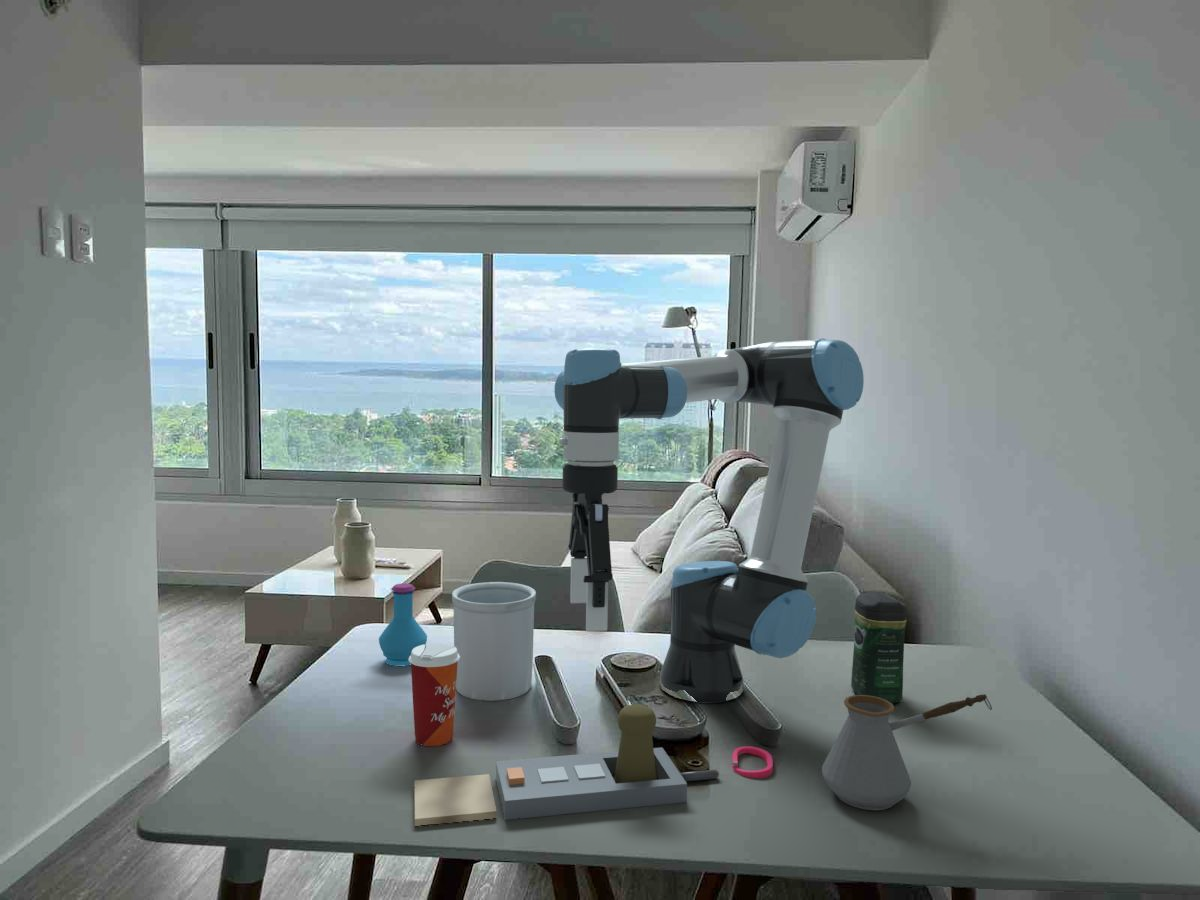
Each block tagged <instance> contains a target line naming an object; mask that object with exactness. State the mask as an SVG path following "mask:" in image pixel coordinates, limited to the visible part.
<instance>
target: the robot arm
mask: <svg viewBox="0 0 1200 900" xmlns="http://www.w3.org/2000/svg"><path fill="white" fill-rule="evenodd" d="M564 360H565V361H564V368H563V370H562V371H561V372H560V373H559V374H558V376H557V377H556V380H555V384H554V391H553V392H554V397H555V400H556V402H557V404H558V405H559V407H560V408H561V409H562V410H563V436H564V437H561V438H559V440H558V441H559V442H558V444H559V445H560V446H563V451H562V452H563V455H562V458H563V459H564V460H565V461H566V462H567V463H564V465H562V484H561V485H562V486H561V487H562V489H563V490H564V491H565V492H566V493H570V494H572V512H571V522H570V532H569V542H568V545H567V546H568V550H569V551H570V552H569V553H570V554H569V555H570V557H571V558H570V597H569V598H570V601H569V602H570V604H585V606H586V607H585V631H586V632H604V631H606V632H607V631H608V616H609V615H608V613H609V611H608V610H609V604H608V603H609V581H612V580H613V575H614V574H613V573H612V572H613V571H612V557H611V556H612V555H611V543H610V542H611V541H610V531H609V511H610V507H609V505H608V504H606V503H605V504H604V503H603V498H602V497H603V496H604V494H612V493H614V492H616V491H617V490H618V478H619V477H618V475H619V474H618V472H619V471H618V469H619V467H618V466H617V464H615V462H617V461H618V460H619V447H620V446H619V442H620V430H619V429H620V427H619V424H620V420H621V419H657V420H661V419H664V418H665V419H666V418H673V417H675V416H677V415H678V414H680V413H681V412H682V410H683V409H684V407H685V406H686V404H687V403H695V402H704V401H705V402H706V401H712V400H718V401H720V402H721V403H724V404H732V403H733V404H734V403H748V404H749V403H750V404H757V405H766V406H772V412H773V414H774V415H775V416H776V418H777V420H778V427H777V431H776V435H775V439H774V443H773V444H774V445H773V449H772V453H771V458H770V462H769V463H770V464H769V468H768V472H767V476H766V482H765V486H764V492H763V496H762V501H761V506H760V508H759V515H758V518H757V523H756V528H755V532H754V533H755V534H754V537H753V540H752V541H753V542H752V546H751V552H750V556H749V557H748V558H747V559H745V560H744V561H742V562H741V563H739V565H738V564H736V563H735V562H732V561H725V560H708V561H707V560H706V561H705V560H703V561H693V562H687V563H682V564H680V565H677V566H676V567H675V568H674V570H673V572H672V579H671V581H672V582H671V585H670V640H669V641H670V642H669V643H670V644H669V647H668V650H667V652H666V656H665V658H664V661H663V663H662V667H661V670H660V672H659V682H660V681H661V683H662V684H663V686H664V687H665V688H667V689H669V690H672V691H675V692H677V691H679V690H685V691H686V692H687V693H688V694H689V695H690V696H692V697H693V698H694V699H695V700H696V701H697V702H698V703H699V704H718V703H719V704H720V703H725V702H726V703H727V701H726V697H727V695H728V694H729V693H730V692H734V691H738V690H739V689H740V687H741V685H742V684H743V685H744V676H743V672H742V669H741V666H740V662H739V659H738V655H737V652H736V646H737V647H741V648H744V649H746V650H751V651H752V652H753V651H754V652H755V653H756V654H758V655H763V656H769V657H773V658H777V659H783V658H785V659H786V658H788V657H790V656H793V655H794V654H796V653H797V652H798V651H799V650H800V649H801V648H803V647H804V646H805V644H806V643H808V641H809V639H810V637H811V635H812V632H813V631H814V627H815V624H816V620H817V608H816V607H815V605H816V603H815V599H814V598H813V596H812V595H811V594H810V593H809V592H807V587H808V584H809V583H808V582H809V579H808V578H807V577H806V575H805V574H804V572H803V571H802V565H803V560H804V555H805V550H806V546H807V540H808V537H809V532H810V527H811V522H812V517H813V513H814V508H815V502H816V499H817V495H818V494H817V492H818V489H819V484H820V480H821V474H822V470H823V465H824V459H825V455H826V451H827V450H826V449H827V445H828V440H829V437H830V436H829V435H830V432H831V431H832V430H833V429H834V428H836V427H837V426H839V425H841V423H842V419H843V413H844V411H847V410H850V409H852V408H854V407H855V406H856V405H857V403H859V401H860V400H861V398H862V395H863V391H864V377H865V376H864V371H863V366H862V363H861V361H860V357H859V355H858V353H857V352H856V350H855V349H854V348H853V346H851V345H850V344H849V343H848V342H846V341H844V340H841V339H827V338H818V339H808V340H807V339H805V340H803V339H802V340H800V339H799V340H782V341H781V340H776V341H774V340H773V341H767V342H762V343H761V342H760V343H757V344H753V345H747V346H742V347H737V348H730V349H729V348H728V349H722V350H719V351H718V352H716V353H714V354H713V355H712V356H700V357H688V358H677V359H664V360H663V359H662V360H650V361H648V360H647V361H637V362H625V363H621V356H620V353H619V351H618V350H616V349H609V348H573V349H570V350H569V351H568V352H567V353H566V354H565V359H564ZM697 702H696V703H697Z"/></svg>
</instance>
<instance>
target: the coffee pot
mask: <svg viewBox="0 0 1200 900" xmlns="http://www.w3.org/2000/svg"><path fill="white" fill-rule="evenodd" d="M983 701H984V703H985V705H986V707H987V708H988V709H989V710H990V711H992V710H993V706H992V704H991V703H990V701H989V699H988V696H987V694H979V695H978V694H977V695H976V696H974V697H969V696H967V697H966V698H965V699H963V700H957V701H952V702H951V701H950V702H948V703H945V704H943V705H940V706H937V707H935V708H932V709H930V710H927V711H924V712H921V713H919V714H917V715H914V716H911V717H909V716H908V717H906V718H903V719H899V720H896V721H893V722H890V721H889V720H890V717H891V714H893V713H894V711H895V706H894V703H890V702H889V701H887V700H885V699H882V698H879V697H874V696H868V695H857V694H856V695H850V696H847V697H845V699H844V701H843V703H844V706H845V708H847V714H848V717H847V718H846V720H845V722H844V724H843V725H842V728H841V729H840V731H839V733H838V734H837V738H836V739H835V741H834V743H833V745H832V746H831V749H830V750H829V753H828V755H827V756H826V758H825V760H824V762H823V764H822V766H821V773H822V774H821V775H822V777H823V779H824V782H825V783H826V785H827V787H828V788H829V789H830V790H831V791H832V792H833V793H834V794H835V795H836V797H837V798H838V799H839V800H840V801H842V802H844V803H845V804H847V805H849V806H851V807H854V808H857V809H862V810H867V811H868V810H869V811H883V810H887V809H889V808H892V807H893V806H894V805H895V804H898V803H899V802H901V800H903V799H904V798H906V796H907V795H908V793H909V792H910V789H911V785H912V781H911V778H910V775H909V774H910V773H909V772H908V770H907V769H908V768H906V764H905V762H904V759H903V757H902V754H901V752H900V749H899V748H900V747H899V746H898V743H897V740H896V738H895V735H894V733H893V731H894V730H895V731H896V730H899V729H901V728H904V727H907V726H909V725H913V724H915V723H919V722H921V721H925V720H929V719H932V718H937V717H940V716H944V715H948V714H949V715H950V714H953V713H956V712H957V711H960V710H961V709H963V708H966V707H973V705H974V704H975V703H981V702H983Z"/></svg>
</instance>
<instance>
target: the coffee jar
mask: <svg viewBox="0 0 1200 900" xmlns="http://www.w3.org/2000/svg"><path fill="white" fill-rule="evenodd" d="M907 619H908V618H907V606H906V604H904V603H903V602H901V601H900V600H898V599H896V598H895V597H893V596H891V595H889V594H887V593H886V592H885V591H876V590H875V591H874V590H873V591H871V590H864V591H862V592H860V593H859V594H858V595H857V596H856V598H855V603H854V639H853V654H852V666H851V667H852V668H851V679H850V680H851V681H850V685H851V688H852V691H853V692H854V693H855V694H856V695H868V696H874V697H879V698H882V699H885V700H887V701H889V702H890V703H892V704H895V703H900V702H901V701H902V700H903V694H904V693H903V690H904V689H903V687H904V659H905V658H904V653H905V635H906V633H905V632H906V626H907V621H908V620H907Z"/></svg>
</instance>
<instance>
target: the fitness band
mask: <svg viewBox="0 0 1200 900" xmlns="http://www.w3.org/2000/svg"><path fill="white" fill-rule="evenodd" d="M741 754H750V755H754V756H757V757H760V758H762V759H764V760H765V762H766V767H765V768H762V769H758V770H744V769H741V768H740V767H739V759H738V757H739V755H741ZM731 761H732V762H731V765H732V769H733V771H734V772H735V773H737V775H739V776H743V777H746V778H752V779H763V778H768V777H769V776H771V775H772V774H773V771H774V768H773V767H774V763H773V762H774V761H773V756H772V755H771V754H770V753H769V751H767V750H765V749H763V748H760V747H757V746H747V745H746V746H739V747H736V748H735V749H734V750H733V752H732V760H731Z"/></svg>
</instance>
